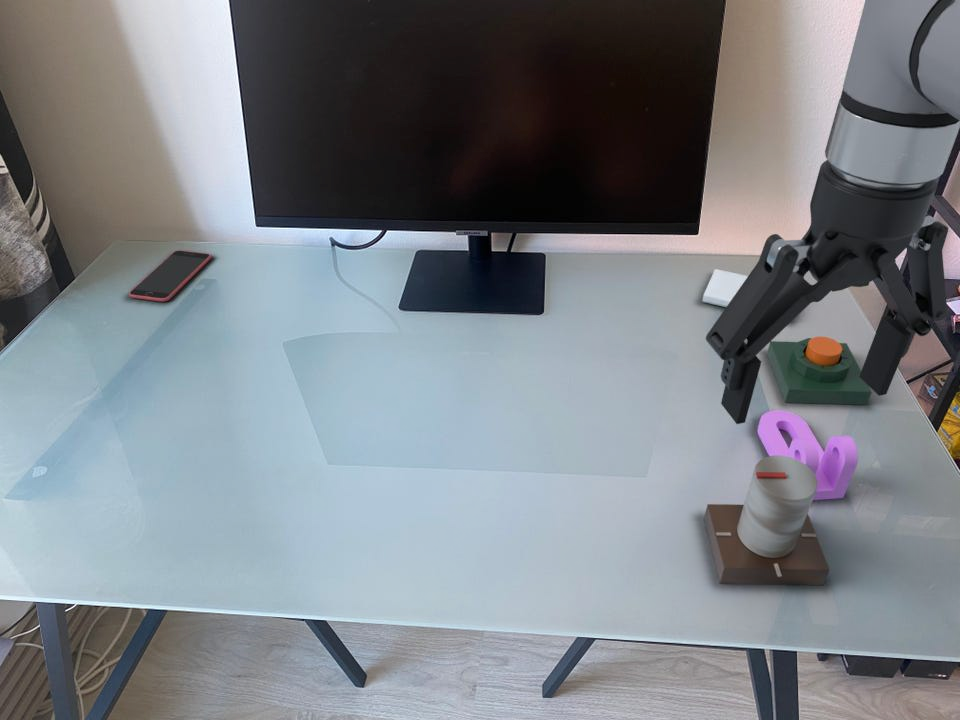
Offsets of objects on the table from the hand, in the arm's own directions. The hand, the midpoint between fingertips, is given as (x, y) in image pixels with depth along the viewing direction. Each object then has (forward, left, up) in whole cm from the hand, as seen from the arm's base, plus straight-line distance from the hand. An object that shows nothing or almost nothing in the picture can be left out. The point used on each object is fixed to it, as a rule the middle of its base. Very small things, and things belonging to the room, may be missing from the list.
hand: (803, 399), depth 65 cm
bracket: (+7, -13, -20) cm, 25 cm away
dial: (-1, 0, -17) cm, 17 cm away
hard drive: (+34, -32, -20) cm, 51 cm away
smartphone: (+84, +43, -20) cm, 97 cm away
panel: (-1, 0, -20) cm, 20 cm away
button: (+16, -26, -16) cm, 34 cm away
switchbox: (+16, -26, -20) cm, 36 cm away
